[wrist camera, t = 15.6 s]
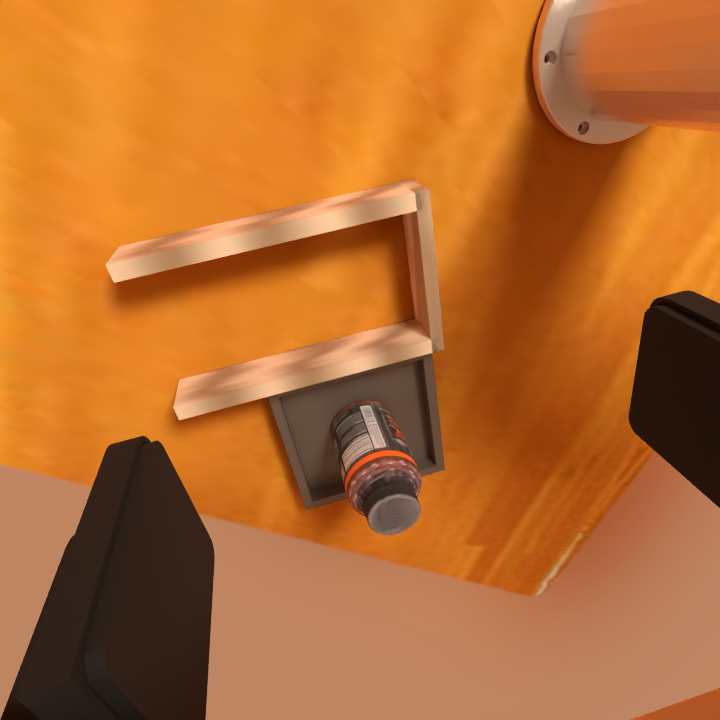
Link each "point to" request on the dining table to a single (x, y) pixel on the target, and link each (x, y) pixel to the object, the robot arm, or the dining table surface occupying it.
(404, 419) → the tray
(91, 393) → the dining table surface
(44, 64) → the dining table surface
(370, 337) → the bay
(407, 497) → the supplement bottle
